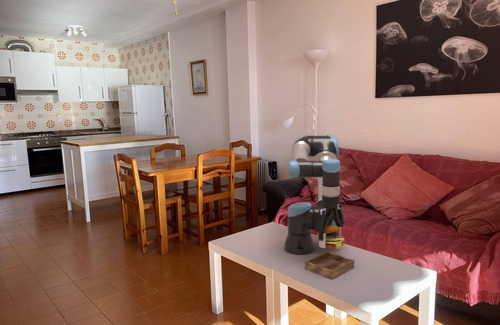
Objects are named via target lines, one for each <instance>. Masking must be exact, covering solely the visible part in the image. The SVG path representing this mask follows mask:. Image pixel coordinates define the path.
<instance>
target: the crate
mask: <svg viewBox="0 0 500 325" xmlns="http://www.w3.org/2000/svg"><path fill="white" fill-rule="evenodd" d="M354 268H355V259H352V258H349V257H347V256H343V255H339V254H336V253H334V252H330V251H325V252H323V253H320V254H318V255H317V256H314V257H312V258H309V259H308V260H306V261H304V269H305V270H306V271H309V272H311V271H312V273H314V274H318V275H319V274H320V275H319V276H322V275H323V276H322V277H324V276H325V278H327V279H329V278H330V279H329V280H332V279H333V280H334V278H335V279H336V278H338V277H339V276H342V275H343V274H345V273H347V272H350V270H352V269H354Z"/></svg>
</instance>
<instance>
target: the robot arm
mask: <svg viewBox="0 0 500 325" xmlns="http://www.w3.org/2000/svg"><path fill="white" fill-rule="evenodd" d="M291 152H292V154H293V159H292V160H290V161H289V162H288V175H289V177H290V178H292V177H293V178H317V191H318V192H317V193H318V194H317V195H318V196H317V197H318V200H317V201H316V202H315V205H312V203H311V202H308V201H307V202H306V201H304V202H303V201H301V202H296V203H292V204H291V205H289V206H288V208H287V236H286V239H285V242H284V248H283V249H284V250H285V251H286V252H287V253H289V254H292V255H293V254H294V255H309V254H311V253H313V252H314V251H315V248H316V247H315V242H314V239H313V235H312V230H313V231H315V233H318V247H320V248H322V249H326V247H325V234H326V233H324V232H325V229H326V226H331V225H334V226H338V227H339V229H340V231H339V232H337V233H340V236H342V235H341V234H342V228H344V225H345V220H344V219H345V218H344V214H343V205H342V204H341V203H340V202H341V201H340V200H341V196H340V193H341V190H340V189H341V188H340V187H341V182H340V181H341V179H340V178H341V169H342V168H341V161H340V160H339V159H337V157H339V155H340V149H339V140H338V138H337V137H336V136H335V135H329V134H327V135H305V136H302V137H300V138H298V139H297V140H295V142H294V143H293V144H292V147H291ZM309 157H311V158H313V157H314V160H309V159H310V158H309Z"/></svg>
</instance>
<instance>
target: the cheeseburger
mask: <svg viewBox="0 0 500 325" xmlns="http://www.w3.org/2000/svg"><path fill="white" fill-rule="evenodd" d="M339 231H340V229H339V227H338V226H334V225H331V226H326V229H325V232H324V233H326V234H325V248H329V249H330V248H331V249H336V250H340V249H341V248H342V247H343V245H344V241H345V237H344V236H343V235H341V236H340V233H337V232H339Z"/></svg>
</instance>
